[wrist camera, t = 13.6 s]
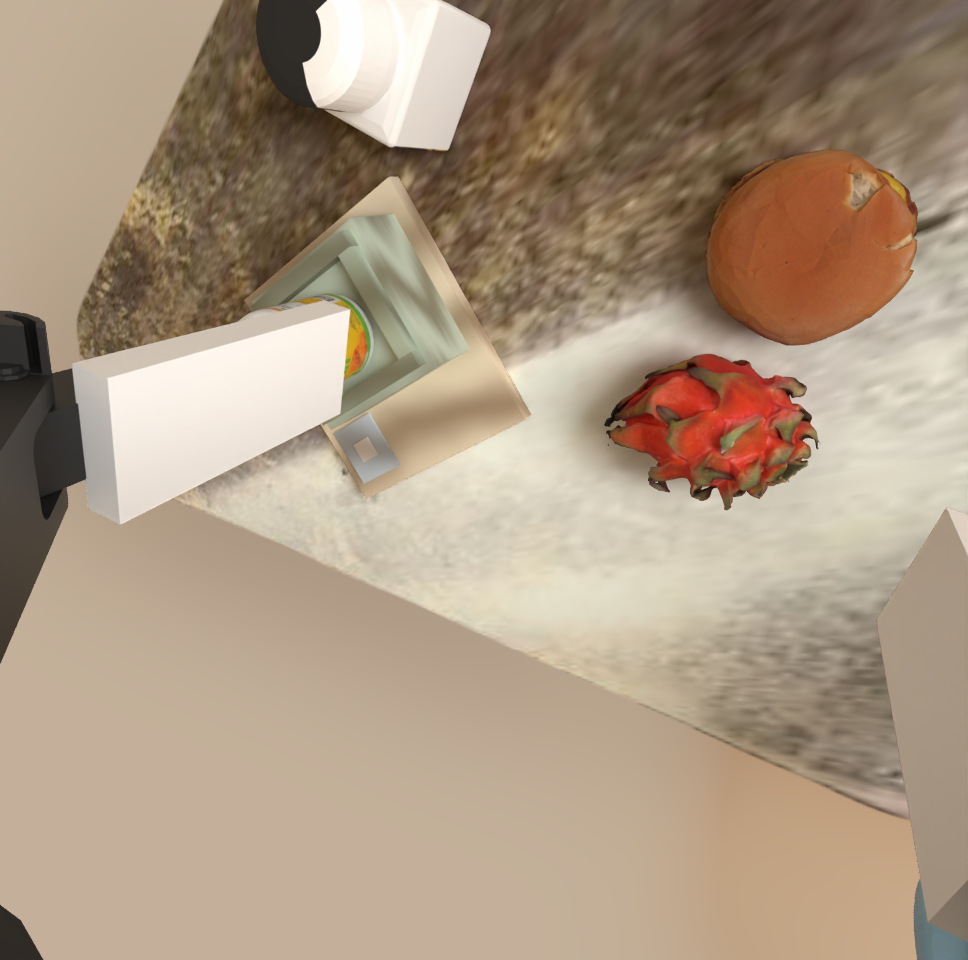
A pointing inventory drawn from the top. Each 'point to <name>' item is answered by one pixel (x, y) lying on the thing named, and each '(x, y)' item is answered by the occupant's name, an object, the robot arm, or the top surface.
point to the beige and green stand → (401, 343)
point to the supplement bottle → (358, 331)
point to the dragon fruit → (716, 427)
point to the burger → (811, 245)
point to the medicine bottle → (376, 63)
